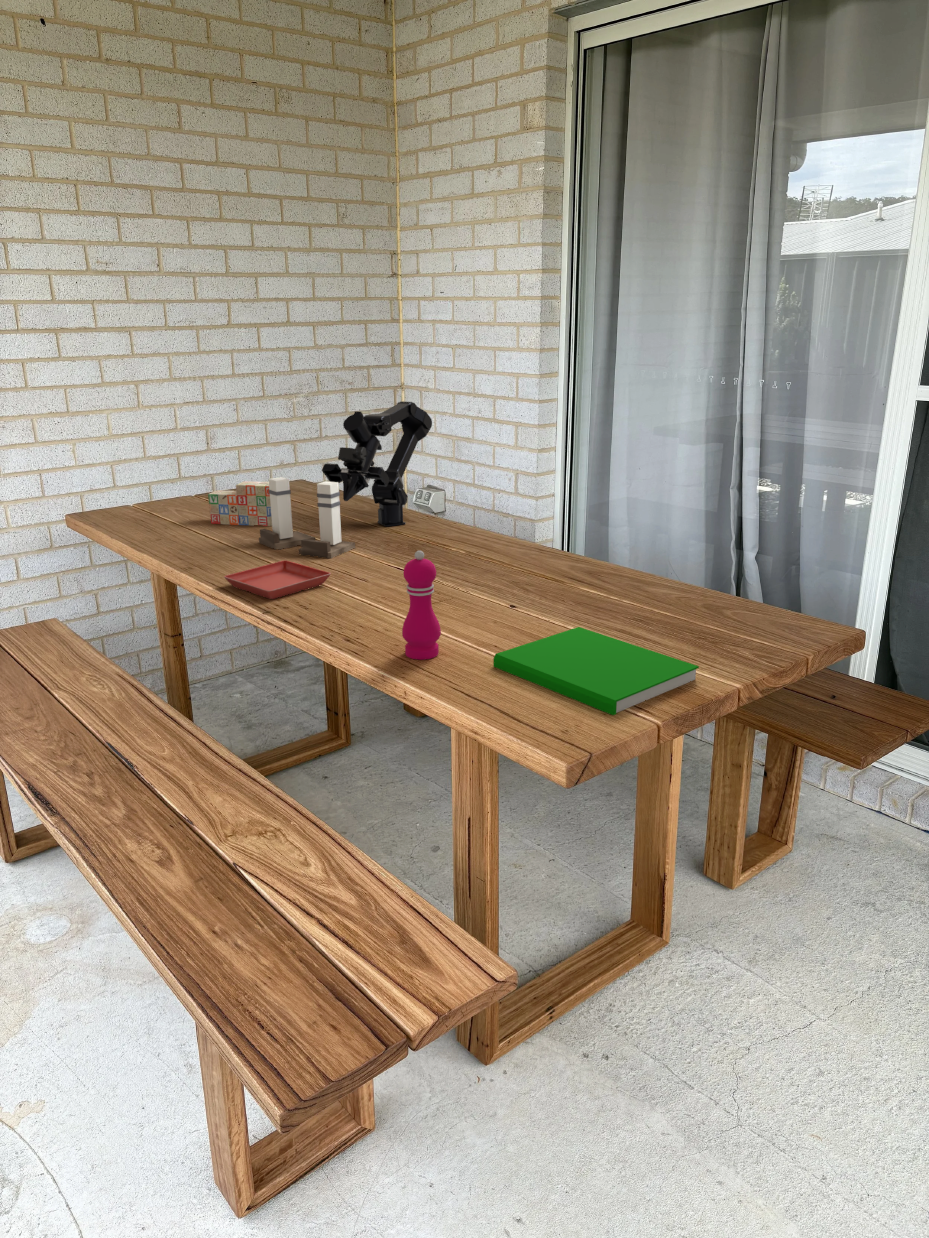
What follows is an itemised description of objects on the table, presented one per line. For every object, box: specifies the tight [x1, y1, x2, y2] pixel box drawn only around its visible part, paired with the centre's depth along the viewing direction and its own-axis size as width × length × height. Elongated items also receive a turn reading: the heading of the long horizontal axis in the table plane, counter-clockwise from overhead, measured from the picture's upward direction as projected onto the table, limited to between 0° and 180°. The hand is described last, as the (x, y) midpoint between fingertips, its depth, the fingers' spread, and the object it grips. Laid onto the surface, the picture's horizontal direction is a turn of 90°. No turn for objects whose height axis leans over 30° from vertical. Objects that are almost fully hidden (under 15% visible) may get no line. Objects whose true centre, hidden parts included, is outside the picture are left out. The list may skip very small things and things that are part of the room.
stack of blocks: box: [207, 480, 272, 527], centre depth 280 cm, size 21×6×12 cm, turn 79°
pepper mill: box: [401, 550, 442, 660], centre depth 172 cm, size 7×7×20 cm
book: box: [492, 626, 700, 716], centre depth 165 cm, size 22×28×3 cm
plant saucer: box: [223, 560, 332, 600], centre depth 218 cm, size 18×18×3 cm
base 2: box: [298, 539, 356, 559], centre depth 248 cm, size 12×10×4 cm
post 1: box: [268, 476, 294, 539], centre depth 254 cm, size 4×4×16 cm
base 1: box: [258, 528, 316, 550], centre depth 257 cm, size 12×10×4 cm
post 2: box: [316, 480, 343, 545], centre depth 247 cm, size 4×4×16 cm
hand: (345, 500), depth 254 cm, fingers closed
